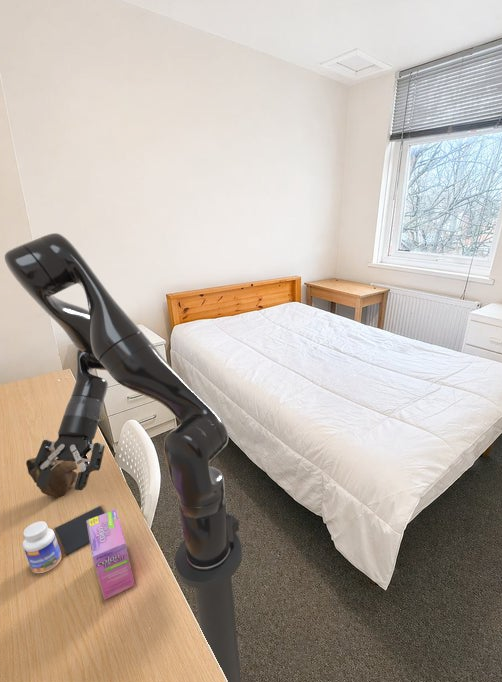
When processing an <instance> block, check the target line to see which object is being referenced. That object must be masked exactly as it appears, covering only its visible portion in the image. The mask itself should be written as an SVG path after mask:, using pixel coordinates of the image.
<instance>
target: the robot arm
mask: <svg viewBox="0 0 502 682" xmlns="http://www.w3.org/2000/svg"><path fill="white" fill-rule="evenodd" d="M4 262H5V264H6V266H7V268H8V270H9V271H10V273H11V275H12V276H13V277H14V278H15V280H16V281H17V282H18V283H19V285H20V286H21V287H22V289H24V290H25V292H27V293H28V295H29V296H30V297H31V298H32V299H33V300H34V302H35V303H37V305H39V306H40V308H41V309H42V310H43V311H44V312H45V313H46V314H47V315H48V316H50V318H51V319H53V320H54V321H55V322H56V323H57V324H58V325H59V326H60V328H62V330H63V331H64V332H65V334H66V335H67V337H68V338H69V339H70V340H71V342H72V343H73V345H74V346H75V347H76V349H77V351H76V375H75V376H76V377H75V379H76V380H75V383H74V386H73V390H72V393H71V396H70V398H69V401H68V402H67V405H66V407H65V410H64V413H63V416H62V419H61V421H60V422H61V423H60V426H59V428H58V432H57V436H58V437H57V439H56V440H55V441H52V440H49V439H43V440H42V442H41V444H40V447H39V449H38V452H37V454H36V457H35V458H36V459H35V462H34V465H35V466H37V467H39V468H40V469H41V472H40V475H39V478H38V481H37V484H38V487H37V488H39V487H41V488H46V487H47V486H48V483H49V480H50V477H51V474H52V471H51V470H52V469H53V468H54V467H55V466H56V465H57V464H60V463H61V462H62V461H74V462H75V463H76V464H77V466H78V469H79V470H80V471H78V473H77V477H76V480H75V483H74V486H73V489H74V491H83V490H84V488H86V486H87V483H88V480H89V477H90V474H91V473H92V472H95V471H96V472H97V471H100V469H101V466H102V462H103V457H104V452H105V448H106V447H105V444H103V443H100V442H95V443H93V440H94V439H95V437H96V433H97V430H98V426H99V423H100V420H101V416H102V413H103V405H104V402H105V398H106V394H107V391H108V388H109V382H108V381H107V380H106V379H105V378H103V377H101V376H98V375H95V374H93V370H99V371H106V372H107V373H108V374H109V375H110V376H111V377H112V378H113V380H114V381H116V383H118V384H120V385H121V386H122V387H124V388H126V389H128V390H130V391H132V392H135V393H137V394H139V395H141V396H145V397H147V398H149V399H151V400H154V401H155V402H157V403H159V404H161V405H163V406H164V407H165V408H166V409H167V410H169V411H170V413H172V414H173V415H174V416H175V418H176V419H177V420H178V421H179V422H180V424H178V425H177V426H176V427H175V428H173V429H172V430H171V431H170V432H168V434H166V436H165V438H164V442H163V452H164V453H163V454H164V458H165V462H166V466H167V471H168V476H169V480H170V483H171V485H172V487H173V489H174V490H175V492H176V494H177V500H178V507H179V513H180V520H181V526H182V531H183V532H182V533H183V539H184V540H185V546H186V556H187V561H188V563H189V565H190V566H191V567H192V568H194V569H196V570H199V571H210V570H213V569H216V568H218V567H219V566H221V565H222V564H223V563H224V562H225V561H226V560H227V559H228V557H229V555H230V551H231V550H232V549H233V548H234V540H233V534H234V533H237V532H239V531H240V524H239V523H240V522H239V519H238V518H236V517H235V516H234V515H233V514H232V513H231V512H229V511H228V507H227V496H226V485H225V478H224V475H223V473H222V471H221V470H220V469H218V468H216V467H214V466H210V464H211V463H212V462H213V461H214V459H215V458H217V457H218V456H219V454H220V453H221V452H222V451H223V450H224V449H225V448H226V447H227V445H228V443H229V432H228V429H227V427H226V425H225V424H224V422H223V420H222V419H221V418H220V417H219V415H218V414H216V412H215V411H214V410H212V408H210V406H209V405H207V403H206V402H205V401H204V400H202V398H200V397H199V395H197V394H196V393H195V391H193V390H192V388H190V387H189V385H188V384H187V383H186V382H185V381H184V380H183V379H182V378H181V377H180V375H179V374H178V373H177V372H176V371H175V370H174V368H173V367H171V365H170V364H169V363H168V362H167V360H166V359H165V358H164V357H163V356H162V354H161V353H160V351H158V349H157V347H155V345H154V344H153V343H152V342H151V341H150V339H149V338H148V336H146V334H145V333H144V332H143V331H142V330H141V329H140V327H139V326H138V325H137V324H136V323H135V322H134V321H133V319H132V318H130V316H129V315H128V314H127V313H126V312H125V310H124V309H123V308H122V307H121V306H120V305H119V303H118V302H117V301H116V300H115V299H114V298H113V296H112V295H111V294H110V292H109V291H108V289H107V288H106V287H105V285H104V284H103V283H102V282H101V280H100V279H99V278H98V276H97V274H96V273H95V272H94V271H93V269H92V268H91V266H90V265H89V264H88V262H87V261H86V260H85V258H84V257H83V256H82V254H81V253H80V252H79V250H78V249H77V248H76V247H75V245H74V244H73V243H72V242H71V240H69V239H68V238H67V237H65V236H64V235H63V234H61V233H58V232H54V233H49V234H46V235H43V236H41V237H37V238H35V239H33V240H31V241H28V242H26V243H23V244H20V245H18V246H16V247H14V248H12V249H9V250H8V251H6V252H5V254H4ZM77 284H78V285H79V286H81V288H82V289H83V292H84V294H85V297H86V302H87V307H88V309H86V308H84V307H81V306H79V305H77V304H73V303H70V302H67V301H64V300H62V299H61V298H58V297H56V296H55V295H56V294H58V293H60V292H62V291H64V290H67V289H69V288H71V287H73V286H75V285H77ZM54 448H55V451H54V452H53V453H52V454H51V452H52V450H54ZM89 452H91V456H90V458H89V455H88V454H89ZM42 458H43V459H42ZM184 540H183V541H184Z"/></svg>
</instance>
